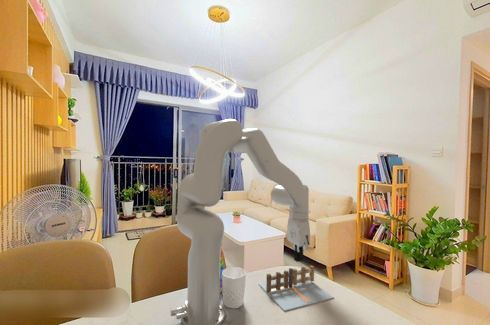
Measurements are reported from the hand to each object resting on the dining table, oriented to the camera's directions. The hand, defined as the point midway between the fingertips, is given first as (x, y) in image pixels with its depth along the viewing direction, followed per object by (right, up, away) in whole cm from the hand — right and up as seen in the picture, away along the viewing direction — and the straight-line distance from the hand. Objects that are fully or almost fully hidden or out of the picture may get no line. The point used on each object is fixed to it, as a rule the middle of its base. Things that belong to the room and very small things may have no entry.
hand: (298, 260), depth 99 cm
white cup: (-26, -7, -18) cm, 32 cm away
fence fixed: (-9, -7, -10) cm, 15 cm away
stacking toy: (-33, -7, -10) cm, 35 cm away
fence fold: (0, -6, -6) cm, 8 cm away
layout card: (-4, -7, -10) cm, 13 cm away
